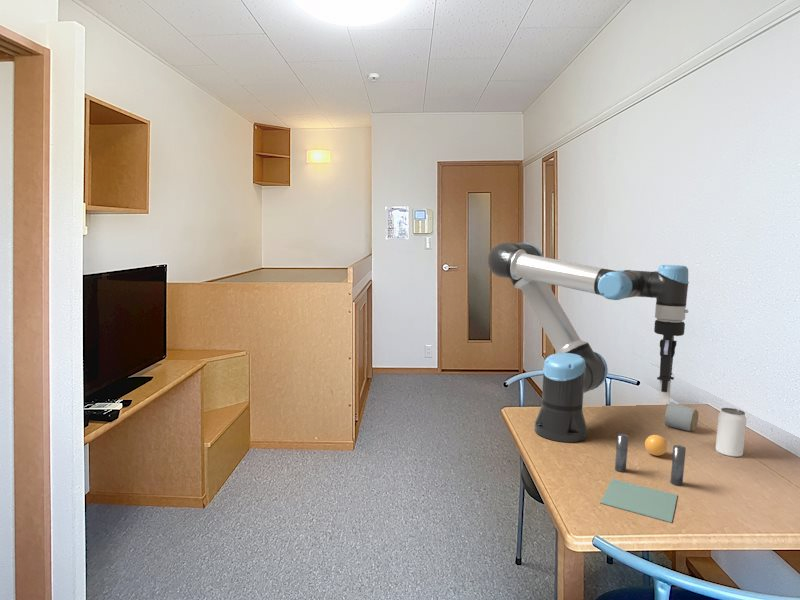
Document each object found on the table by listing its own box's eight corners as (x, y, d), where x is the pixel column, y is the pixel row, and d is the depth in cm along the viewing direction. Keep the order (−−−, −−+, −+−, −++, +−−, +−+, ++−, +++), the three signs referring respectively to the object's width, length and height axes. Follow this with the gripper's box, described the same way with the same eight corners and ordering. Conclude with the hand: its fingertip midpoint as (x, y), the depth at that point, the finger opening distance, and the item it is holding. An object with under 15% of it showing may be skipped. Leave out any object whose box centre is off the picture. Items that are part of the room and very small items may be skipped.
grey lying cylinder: (692, 435, 157) (695, 410, 156) (663, 428, 162) (665, 404, 161) (699, 426, 165) (702, 403, 164) (671, 420, 170) (673, 397, 169)
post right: (669, 483, 124) (673, 447, 123) (670, 479, 126) (674, 444, 125) (682, 486, 122) (685, 450, 121) (682, 482, 124) (686, 446, 123)
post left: (613, 470, 130) (616, 436, 129) (615, 466, 132) (618, 432, 131) (624, 473, 129) (627, 438, 128) (626, 469, 131) (629, 435, 130)
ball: (642, 455, 140) (644, 436, 139) (645, 449, 145) (647, 430, 144) (665, 460, 137) (667, 440, 136) (667, 453, 142) (669, 434, 141)
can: (747, 458, 140) (751, 415, 138) (720, 456, 141) (724, 413, 140) (736, 449, 146) (740, 408, 145) (711, 447, 147) (715, 406, 146)
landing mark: (600, 503, 113) (600, 502, 113) (612, 479, 125) (612, 478, 125) (671, 523, 106) (671, 522, 106) (677, 495, 118) (677, 494, 118)
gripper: (683, 324, 137) (676, 410, 140) (686, 318, 148) (680, 398, 151) (652, 321, 141) (646, 405, 144) (657, 316, 152) (652, 394, 155)
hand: (663, 402), depth 147 cm, fingers closed
